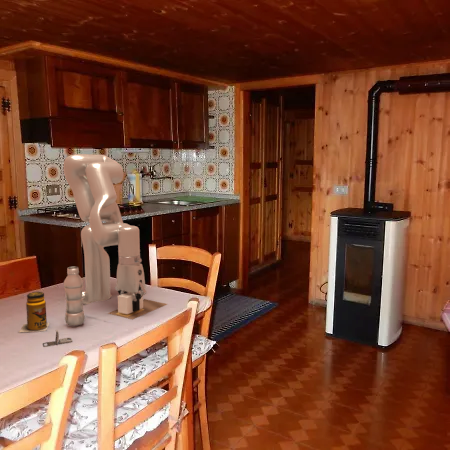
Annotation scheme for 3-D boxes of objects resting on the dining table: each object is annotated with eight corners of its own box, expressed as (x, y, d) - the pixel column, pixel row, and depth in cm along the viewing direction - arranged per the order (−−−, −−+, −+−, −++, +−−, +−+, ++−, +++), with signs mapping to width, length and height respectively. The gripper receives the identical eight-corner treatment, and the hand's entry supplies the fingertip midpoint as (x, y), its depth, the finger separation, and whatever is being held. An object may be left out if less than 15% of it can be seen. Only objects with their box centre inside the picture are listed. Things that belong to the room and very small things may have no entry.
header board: (132, 323, 153) (132, 312, 152) (107, 317, 159) (107, 306, 158) (168, 307, 170) (168, 297, 169) (144, 302, 176) (144, 292, 175)
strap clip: (71, 339, 139) (71, 327, 138) (72, 343, 136) (72, 330, 136) (42, 344, 135) (41, 331, 135) (43, 348, 132) (42, 334, 132)
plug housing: (127, 314, 155) (126, 297, 154) (118, 312, 157) (117, 295, 156) (143, 307, 162) (142, 292, 161) (134, 305, 164) (133, 290, 164)
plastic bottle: (66, 329, 147) (64, 271, 144) (63, 323, 152) (61, 266, 150) (86, 326, 150) (84, 269, 147) (83, 320, 155) (81, 265, 153)
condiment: (46, 331, 145) (44, 296, 144) (18, 333, 143) (16, 297, 142) (49, 323, 152) (48, 289, 151) (23, 325, 150) (21, 291, 149)
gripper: (154, 260, 156) (155, 310, 159) (119, 256, 165) (121, 303, 167) (140, 264, 150) (141, 316, 152) (104, 259, 158) (106, 308, 161)
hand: (130, 309), depth 160 cm, fingers closed on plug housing, 4 cm apart
